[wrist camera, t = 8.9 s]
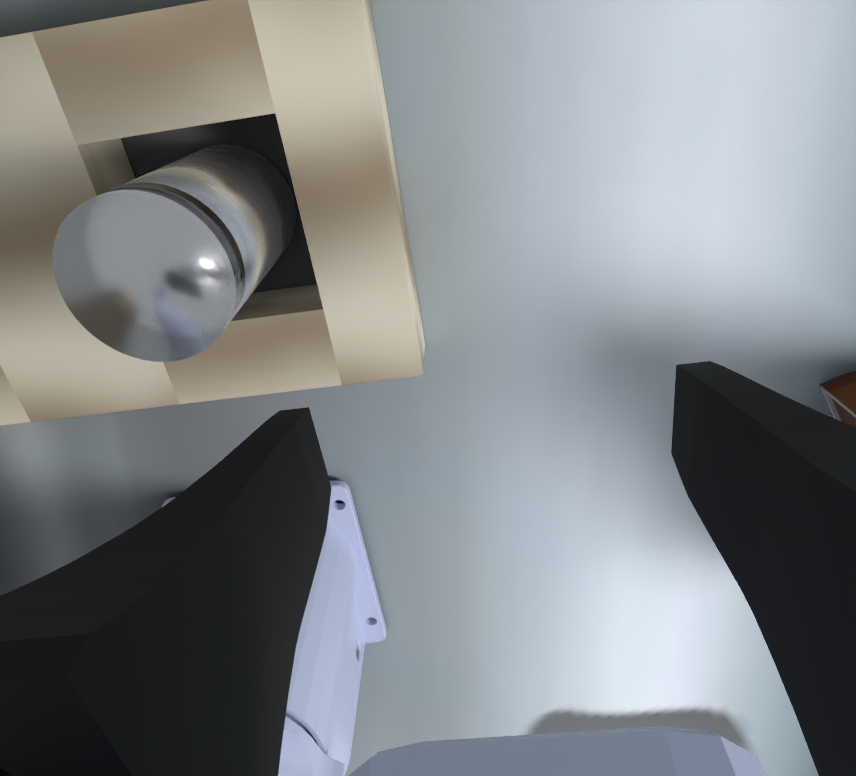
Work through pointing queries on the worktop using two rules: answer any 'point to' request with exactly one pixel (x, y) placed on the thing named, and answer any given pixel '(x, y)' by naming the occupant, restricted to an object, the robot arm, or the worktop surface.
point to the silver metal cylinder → (174, 251)
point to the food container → (842, 397)
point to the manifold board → (186, 107)
